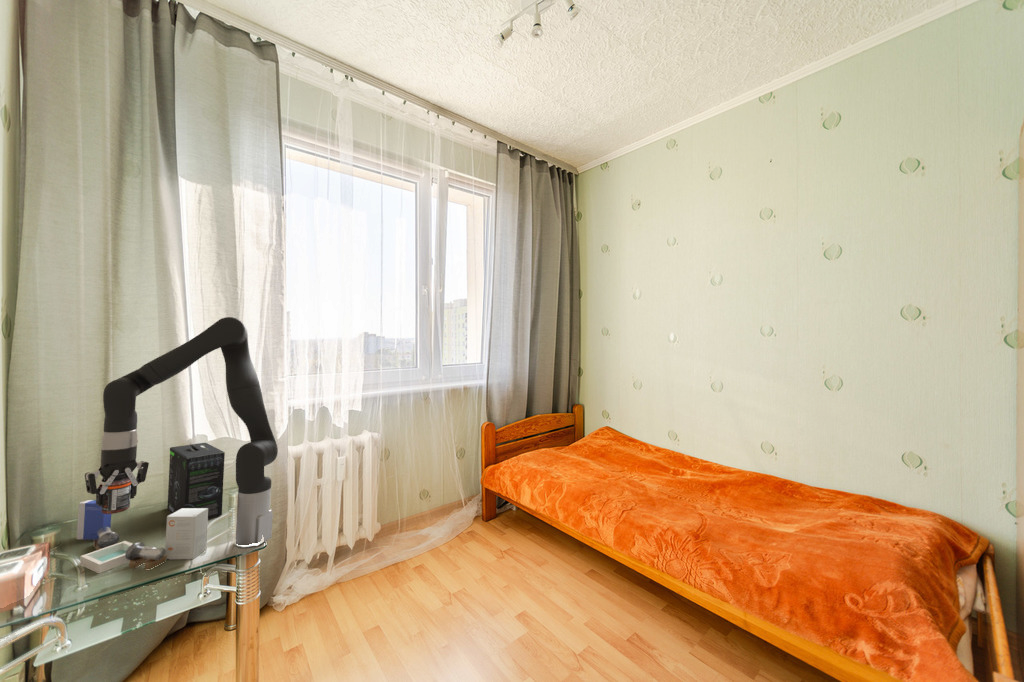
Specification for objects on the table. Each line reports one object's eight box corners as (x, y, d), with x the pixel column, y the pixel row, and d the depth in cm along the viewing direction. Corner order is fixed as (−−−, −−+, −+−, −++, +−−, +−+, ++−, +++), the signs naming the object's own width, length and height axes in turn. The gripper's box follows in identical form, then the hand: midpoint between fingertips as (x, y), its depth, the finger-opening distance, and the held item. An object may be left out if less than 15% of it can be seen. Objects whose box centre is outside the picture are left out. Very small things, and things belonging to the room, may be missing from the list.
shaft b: (92, 545, 124) (93, 526, 124) (113, 539, 127) (114, 521, 127) (97, 555, 118) (98, 535, 118) (118, 549, 122) (119, 530, 122)
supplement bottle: (97, 511, 115) (100, 473, 115) (125, 505, 120) (127, 468, 121) (105, 516, 112) (108, 477, 113) (133, 509, 118) (135, 471, 118)
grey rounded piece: (167, 562, 116) (168, 542, 117) (151, 570, 112) (152, 550, 112) (141, 558, 117) (142, 539, 118) (124, 567, 113) (125, 547, 113)
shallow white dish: (143, 556, 119) (143, 548, 119) (98, 573, 110) (99, 564, 110) (124, 548, 123) (125, 540, 123) (80, 564, 113) (80, 555, 113)
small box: (206, 549, 125) (209, 507, 125) (192, 559, 118) (195, 516, 118) (179, 549, 124) (181, 507, 124) (163, 560, 117) (166, 516, 118)
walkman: (110, 535, 130) (112, 499, 130) (102, 539, 127) (104, 502, 127) (85, 535, 130) (87, 498, 130) (76, 539, 127) (78, 502, 127)
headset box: (165, 508, 152) (169, 441, 152) (203, 499, 161) (207, 436, 162) (182, 526, 138) (186, 453, 138) (223, 516, 148) (226, 447, 148)
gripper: (142, 438, 125) (139, 492, 124) (79, 449, 111) (75, 508, 111) (156, 442, 122) (153, 496, 122) (93, 452, 109) (89, 513, 108)
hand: (116, 501), depth 116 cm, fingers closed on supplement bottle, 6 cm apart
